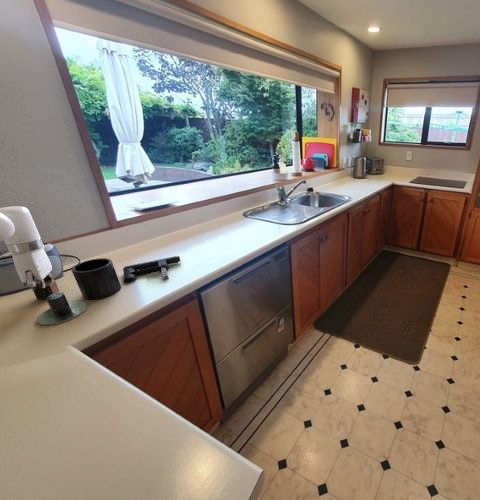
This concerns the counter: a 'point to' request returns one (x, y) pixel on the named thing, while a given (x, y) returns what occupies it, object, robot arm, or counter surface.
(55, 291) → the block
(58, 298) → the lid
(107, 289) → the canister
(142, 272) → the door handle
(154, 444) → the counter surface
